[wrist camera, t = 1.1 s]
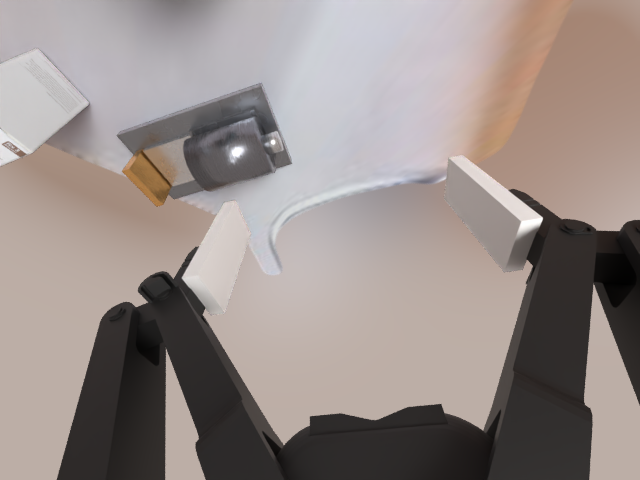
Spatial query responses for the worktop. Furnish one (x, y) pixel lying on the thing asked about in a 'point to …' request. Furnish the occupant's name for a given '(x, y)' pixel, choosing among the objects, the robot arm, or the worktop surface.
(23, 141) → the skincare box
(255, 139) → the motor
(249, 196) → the worktop surface
